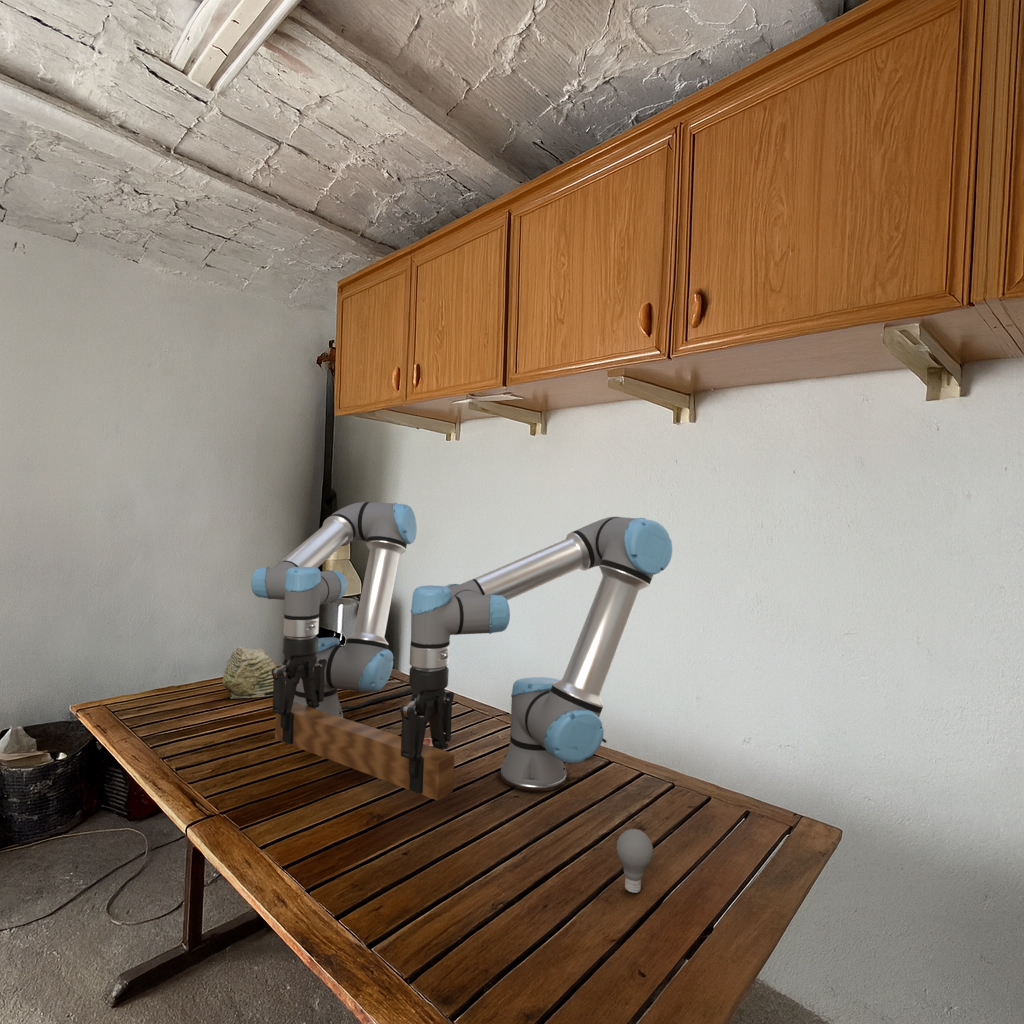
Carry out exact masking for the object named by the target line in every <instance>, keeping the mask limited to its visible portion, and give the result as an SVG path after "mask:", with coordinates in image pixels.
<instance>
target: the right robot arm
mask: <svg viewBox="0 0 1024 1024" xmlns="http://www.w3.org/2000/svg"><path fill="white" fill-rule="evenodd" d="M672 556H673V542H672V539H671V538H670V534H669V532H668V530H667V529H666V527H664V526H663V524H661V523H659V522H658V521H656V520H653V519H647V518H644V517H623V516H608V517H605V518H601V519H599V520H597V521H594V522H592V523H589V524H586V525H585V526H583V527H580V528H578V529H576V530H574V531H573V530H572V531H570V532H569V533H567V534H566V537H565V539H563V540H561V541H559V542H556V543H553V544H552V545H549V546H546V547H544V548H542V549H540V550H537V551H536V552H533V553H531V554H528V555H526V556H523V557H521V558H519V559H517V560H514V561H511V562H510V563H507V564H505V565H503V566H499V567H497V568H496V569H493V570H491V571H489V572H486V573H484V574H482V575H479V576H477V577H475V578H472V579H470V580H468V581H465V582H462V583H449V584H447V585H432V584H431V585H428V584H427V585H420V586H416V588H414V590H413V592H412V598H411V607H410V644H409V666H411V667H410V668H409V674H408V675H409V678H408V685H409V687H410V689H412V691H411V692H412V693H411V698H410V702H409V703H408V704H407V705H400V707H399V712H400V715H401V731H400V733H401V756H402V757H405V758H408V759H409V775H410V787H409V790H408V791H411V790H412V791H411V792H413V791H414V792H413V793H416V792H417V793H416V794H419V793H422V792H423V770H424V758H422V757H421V753H422V748H423V742H424V738H426V730H427V725H428V724H429V732H430V738H431V740H432V745H433V746H432V747H435V748H438V749H441V750H444V749H445V750H446V749H448V747H449V744H448V743H449V742H451V739H452V717H453V714H452V713H453V701H454V698H455V692H453V691H450V690H447V687H448V686H449V675H450V673H449V668H448V666H449V662H450V642H451V640H450V638H451V636H458V635H477V634H478V635H481V634H489V635H491V634H495V633H502V632H505V631H506V629H507V628H508V626H509V625H510V619H511V610H510V605H509V601H510V600H512V599H515V598H517V597H519V596H521V595H523V594H526V593H528V592H530V591H532V590H535V589H537V588H539V587H541V586H544V585H546V584H549V583H551V582H552V581H555V580H557V579H560V578H562V577H564V576H566V575H568V574H570V573H572V572H573V573H574V572H575V571H577V570H581V571H583V572H584V571H587V570H590V569H593V568H595V567H599V570H600V572H601V580H600V583H599V585H598V588H597V591H596V592H595V595H594V598H593V600H592V603H591V604H590V608H589V610H588V613H587V616H586V618H585V620H584V623H583V626H582V628H581V630H580V633H579V636H578V638H577V640H576V643H575V646H574V649H573V651H572V654H571V656H570V659H569V660H568V664H567V666H566V669H565V671H564V674H563V677H562V678H561V679H558V678H554V677H544V676H537V677H536V676H535V677H534V676H532V677H531V676H530V677H524V678H519V679H517V680H515V681H514V682H513V684H512V691H511V694H510V695H511V706H510V707H511V710H510V735H509V745H508V748H507V751H506V753H505V755H504V758H503V759H504V760H503V761H502V764H501V766H500V778H501V780H502V782H503V783H504V784H506V785H507V786H509V787H511V788H513V789H516V790H519V791H523V792H529V793H532V792H533V793H545V792H551V791H555V790H557V789H560V788H561V787H563V786H564V785H565V784H566V782H567V768H566V765H565V763H566V764H580V763H583V762H584V761H585V760H588V759H590V758H591V757H592V756H593V755H595V754H596V752H598V750H599V748H600V747H601V744H602V742H603V743H605V744H606V743H608V741H607V740H606V739H605V738H604V731H605V730H604V727H603V722H602V720H601V718H600V716H601V713H602V711H603V709H604V702H603V700H602V698H601V693H602V691H603V688H604V685H605V683H606V680H607V677H608V675H609V673H610V670H611V667H612V665H613V662H614V659H615V656H616V655H617V651H618V649H619V646H620V644H621V641H622V638H623V635H624V633H625V631H626V628H627V626H628V623H629V620H630V617H631V615H632V612H633V609H634V607H635V604H636V602H637V599H638V596H639V594H640V592H641V591H642V590H644V589H646V588H649V587H650V585H651V582H652V580H653V577H654V576H655V575H658V574H660V573H661V572H663V571H665V570H666V569H667V567H668V566H669V564H670V563H671V559H672Z"/></svg>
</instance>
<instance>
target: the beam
mask: <svg viewBox="0 0 1024 1024" xmlns="http://www.w3.org/2000/svg"><path fill="white" fill-rule="evenodd" d="M291 713H292V714H294V727H293V743H292V744H288V743H285V742H283V741H282V735H283V729H282V728H281V727H280V724H281V723H280V722H281V715H280V714H278V713H275V724H274V726H275V727H274V728H275V729H274V739H275V740H276V741H279V742H281V743H284V744H287V745H290V746H292V747H295V748H298V749H300V750H302V751H306V752H309V753H310V754H313V755H316V756H318V757H321V758H324V759H327V760H329V761H332V762H334V763H336V764H340V765H343V766H345V767H348V768H350V769H353V770H355V771H358V772H361V773H363V774H366V775H369V776H372V777H374V778H377V779H379V780H382V781H385V782H387V783H390V784H393V785H395V786H398V787H400V788H403V789H405V790H408V791H411V792H413V793H416V794H419V795H421V796H424V797H426V798H430V799H432V800H434V801H436V802H437V801H440V800H442V799H443V798H445V797H446V796H447V795H449V794H452V793H453V792H454V777H455V776H454V773H455V752H454V753H453V752H450V751H448V750H444V749H443V750H441V749H438V748H435V747H434V746H433V747H432V746H429V745H426V744H423V748H422V753H421V757H422V758H424V770H423V792H422V793H417V792H414V791H412V790H409V787H410V775H409V759H408V758H405V757H402V756H401V736H400V735H398V734H395V733H391V732H388V731H385V730H382V729H379V728H375V727H373V726H369V725H367V724H363V723H360V722H357V721H354V720H350V719H347V718H345V717H343V718H342V717H339V716H336V715H332V714H329V713H326V712H323V711H320V710H317V709H314V708H311V707H308V706H305V705H301V704H298V703H295V702H293V705H292V710H291Z"/></svg>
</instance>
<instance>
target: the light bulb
mask: <svg viewBox="0 0 1024 1024" xmlns="http://www.w3.org/2000/svg"><path fill="white" fill-rule="evenodd" d="M615 849H616V854H617V857H618V859H619V861H620V863H621V865H622V867H623V873H624V874H623V875H624V876H625V878H624V888H625V890H627V891H628V892H630V893H634V894H635V893H639V892H640V891H641V889H642V887H641V886H642V879H643V877H644V875H645V871H646V868H647V867H648V866H649V864H650V863H651V861H652V859H653V855H654V847H653V843H652V841H651V838H649V836H648V835H647V834H646V833H645V832H643V831H642V830H641V829H636V828H629V829H627V830H625V831H623V832H622V833H621V834H620V835H619V837H618V839H617V841H616V847H615Z"/></svg>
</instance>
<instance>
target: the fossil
mask: <svg viewBox="0 0 1024 1024" xmlns="http://www.w3.org/2000/svg"><path fill="white" fill-rule="evenodd" d="M273 668H276V669H277V668H278V667H277V665H276V663H275V662H274V660H273V659H272V658H271V657H270V656H269V655H268V654H267V653H266V652H265V650H264V649H263V648H260V647H258V648H251V647H247V646H246V647H245V646H238V647H237V648H236V649H235V650H233V651H232V653H231V656H230V657H229V659H228V660H227V663H226V666H225V668H224V671H223V675H222V676H223V677H222V685H223V687H224V688H225V690H226V691H228V693H229V698H230V699H250V698H264V697H271V696H272V697H273V680H274V679H273V676H272V672H271V671H272V669H273ZM285 684H286V681H285Z"/></svg>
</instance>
